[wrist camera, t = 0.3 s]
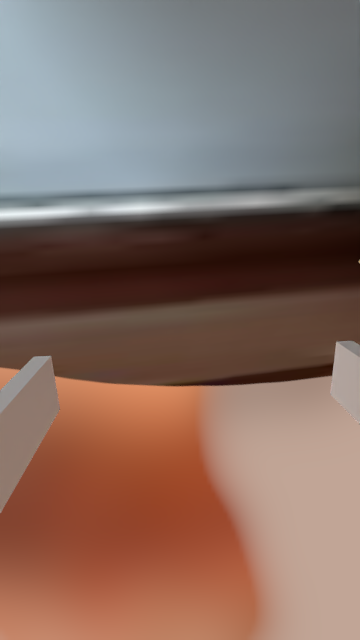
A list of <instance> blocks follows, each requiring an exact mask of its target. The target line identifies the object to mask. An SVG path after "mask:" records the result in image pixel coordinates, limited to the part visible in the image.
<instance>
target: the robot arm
mask: <svg viewBox="0 0 360 640" xmlns="http://www.w3.org/2000/svg"><path fill="white" fill-rule="evenodd" d="M330 394H331V395H332V397H333V398H334V399H335V400H337V402H338V403H339V404H340V405H341V406H342V407H343V408H344V409H345V410H346V411H347V412H348V413H349V414H350V415H351V416H352V417H353V418H354V419H355V420H356V421H357V422H358V423H359V424H360V345H358V344H357V343H355V342H354V341H340V342H336V350H335V358H334V367H333V376H332V384H331V393H330ZM59 410H60V407H59V401H58V395H57V389H56V383H55V377H54V371H53V365H52V359H51V356H40V357H33V358H32V359H31V360H30V361H29V362H28V363H27V364H26V365H25V366H24V367H23V368H22V369H21V370H20V371H19V372H18V373H17V374H16V375H15V376H14V377H13V378H12V379H11V380H10V381H9V382H8V383H7V384H6V385H5V386H4V387H3V388H2V389H1V390H0V513H1V511H2V509H3V508H4V506H5V504H6V502H7V501H8V499H9V497H10V496H11V494H12V492H13V490H14V488H15V487H16V485H17V483H18V482H19V480H20V478H21V476H22V475H23V473H24V471H25V469H26V468H27V465H28V464H29V462H30V461H31V459H32V457H33V455H34V454H35V452H36V450H37V448H38V447H39V445H40V443H41V441H42V440H43V438H44V436H45V434H46V433H47V431H48V429H49V427H50V426H51V424H52V422H53V421H54V419H55V417H56V415H57V414H58V412H59Z"/></svg>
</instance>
